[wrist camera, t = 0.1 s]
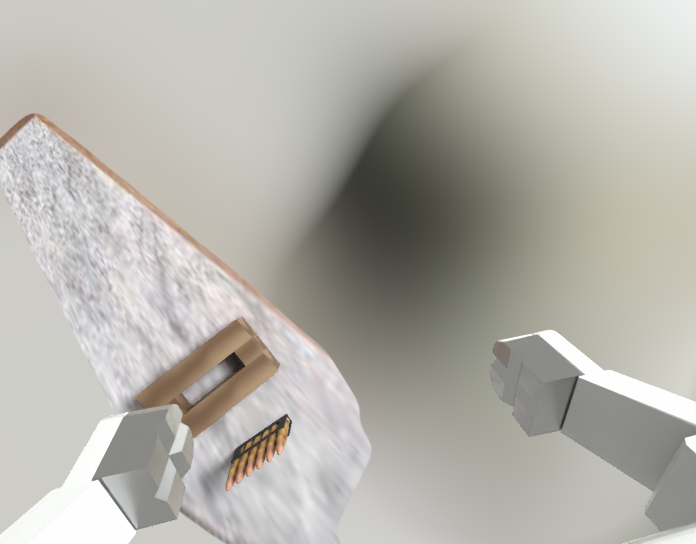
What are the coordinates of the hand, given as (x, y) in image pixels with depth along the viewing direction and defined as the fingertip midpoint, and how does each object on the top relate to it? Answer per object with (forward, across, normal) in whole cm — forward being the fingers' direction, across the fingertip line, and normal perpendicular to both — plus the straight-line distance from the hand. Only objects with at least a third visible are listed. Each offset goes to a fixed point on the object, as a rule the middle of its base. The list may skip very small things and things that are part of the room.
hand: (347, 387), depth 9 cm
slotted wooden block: (+42, -20, -36) cm, 59 cm away
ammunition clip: (+37, -13, -46) cm, 61 cm away
